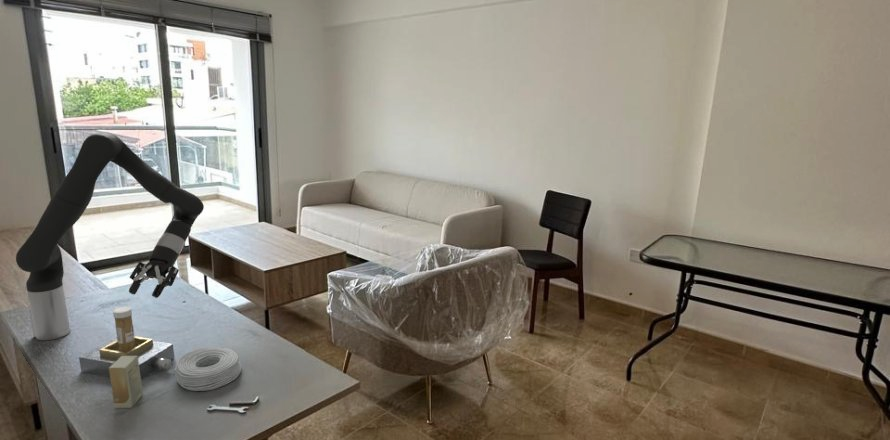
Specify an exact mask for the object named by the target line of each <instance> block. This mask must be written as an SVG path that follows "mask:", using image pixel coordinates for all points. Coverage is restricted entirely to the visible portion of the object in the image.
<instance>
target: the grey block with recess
mask: <svg viewBox="0 0 890 440" xmlns="http://www.w3.org/2000/svg"><path fill="white" fill-rule="evenodd" d="M134 337H135V346H136V347H135V348H134V349H132V350H130V351H128V352H127V353H126V352H120V351H119V345H118V341H117V336H116V337H115V338H113V339H110V340H108V341H107V342H105V343H103V344H101V345H99V346H97V347H95V348H94V349H91V350H90V351H87V352H85V353H84V354H82V355H79V357H78V360H79V366H80V373H85V374H90V375H95V376H100V377H106V378H110V373H109V367H110V366H111V365H112V364H113V363H114V362H115V361H116V360H118V359H119V358H120V357H121V356H138V362H139V369H140V377H141V381H142V380H144V379H146V378H148V377H149V376H150V375H151V374H153V373H154V372H156V371H158V370H159V369H160V370H169V368H170V367H171V366H172V361H173V360H174V359H175V351H174V344H173V343H168V342H163V341H155V340H154V339H153V338H147V337H141V336H135V335H134Z"/></svg>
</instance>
